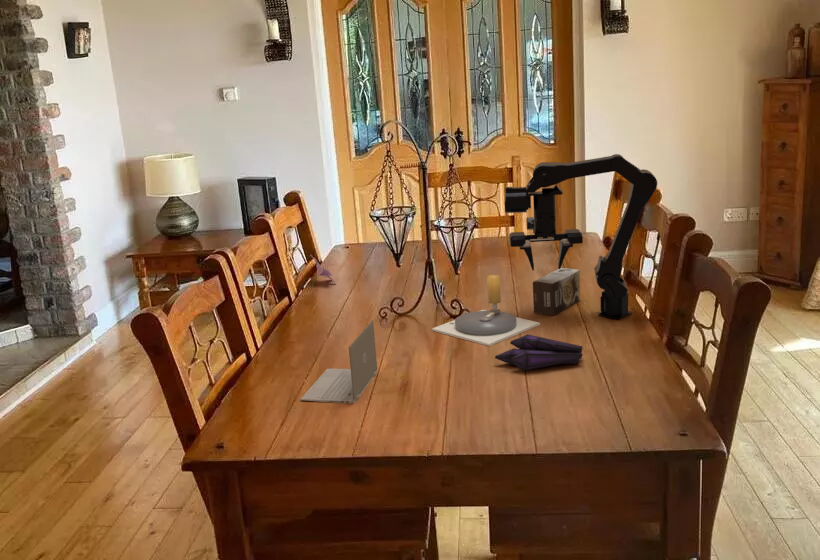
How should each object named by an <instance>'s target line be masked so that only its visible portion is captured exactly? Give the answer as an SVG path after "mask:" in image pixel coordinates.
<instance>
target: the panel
mask: <svg viewBox="0 0 820 560" xmlns="http://www.w3.org/2000/svg"><path fill="white" fill-rule="evenodd" d="M479 311H488V310H486V309H481V310H479ZM515 317H516V327H515V328H513V329H512V330H510V331H507V332H504V333H500V334H493V335H472V334H466V333H463V332H460V331H458V330H457V329H456V327H455V320H456V318H455V319H454V320H452V321H449V322H446V323H443V324H440V325H438V326H435V327H432V328H431V331H432V332H436V333H439V334H443V335H446V336H451V337H454V338H457V339H462V340H465V341H468V342H473V343H476V344H479V345H483V346H487V347H491V346H493V345H496V344H497V343H501V342H502V341H505V340H507V339H510V338H512V337H514V336H518V335H520V334H522V333H525V332H527V331H528V330H531V329H533V328H536V327H538V326H540V325H541V323H540V322H538V321H535V320H529V319H525V318H522V317H517V316H515Z"/></svg>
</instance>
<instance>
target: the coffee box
mask: <svg viewBox="0 0 820 560" xmlns="http://www.w3.org/2000/svg"><path fill="white" fill-rule="evenodd" d="M580 271H581V270H580V269H573V268H566V267H561V268H560V269H556V270H554V271H552V272H550V273H548V274H546V275H544V276H542V277H540V278H538V279H536V280H534V281H533V282H532V293H533V294H532V299H533V301H532V302H533V313H534V314H539V315H545V316H546V315H547V316H555V315H557V314H558V313H560V312H562V311H563V310H565V309H566V308H569V307H570V306H572V305H574V304H575V303H576V302H578V301H580V300H581V287H580V286H581V285H580V284H581V280H580V279H581V278H580V274H581V272H580Z"/></svg>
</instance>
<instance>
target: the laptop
mask: <svg viewBox="0 0 820 560" xmlns="http://www.w3.org/2000/svg"><path fill="white" fill-rule="evenodd" d="M374 326H375V325H374V319H371V320H370V322H369V323H368V324H367V325H366V326H365V328H364V329H363V330H362V331H361V332H360V333H359V335H358V336H357V337H356V338H355V339H354V340H353V342H352V343H350V345H349V346H348V354H349V355H348V356H349V366H350V368H326V370H324V372H323V373H322V374H321V375H320V376H319V378H317V379H316V381H315V382H314V383H313V384H312V386H311V387H310V388H309V389H308V390H307V391H306V392H305V394H303V395H302V397H300V401H305V402H306V401H310V402H322V403H335V404H355V403H356V402H357V401H358V399H359V398H360V397H361V395H362V394H363V393H364V391H365V390H366V389H367V387H368V385H369V384H370V383H371V382H372V380H373V378H374V377H375V375H376V374H377V373H378V361H377V349H376V337H375V327H374Z"/></svg>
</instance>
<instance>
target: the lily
mask: <svg viewBox="0 0 820 560" xmlns="http://www.w3.org/2000/svg"><path fill="white" fill-rule="evenodd" d="M311 258H312V259H313V260H314V261H315V263H316V264H315V265H316V270H317V272H316V273H317V274H316V276H315V278H314V280H313V282H312V285H311V287H314V283H315V282H316V280H317V278H318V277H325V278H328V279H330V280H331V281H332V282H333V283H334V284H335V285H337V283H336V282H335V280H334V279H333V278H332V276H333V274H332V273H331V271H329V269H328V267H323V266H322V265H321V264H320V263H319V262H318V260H317V259H316V258H315V257H314V256H313V255H311Z"/></svg>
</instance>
